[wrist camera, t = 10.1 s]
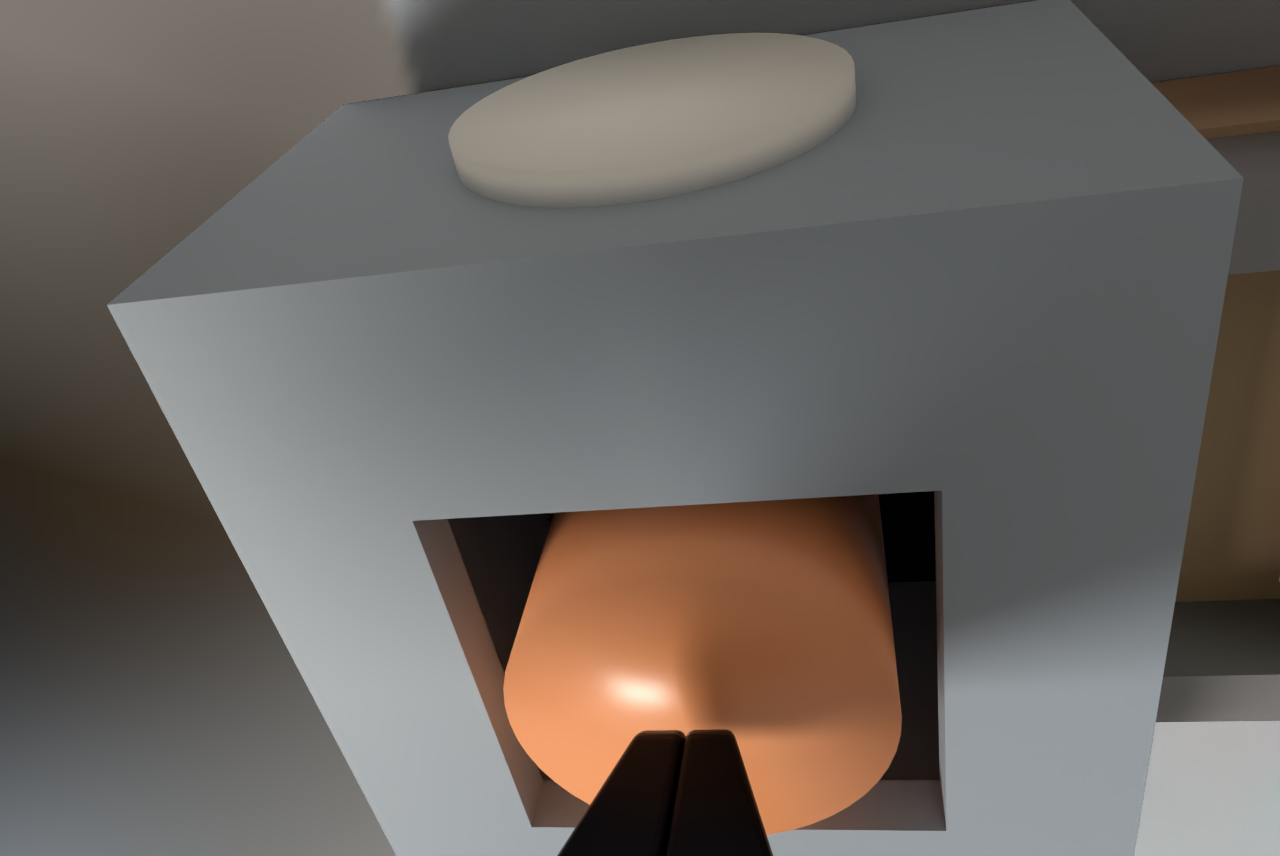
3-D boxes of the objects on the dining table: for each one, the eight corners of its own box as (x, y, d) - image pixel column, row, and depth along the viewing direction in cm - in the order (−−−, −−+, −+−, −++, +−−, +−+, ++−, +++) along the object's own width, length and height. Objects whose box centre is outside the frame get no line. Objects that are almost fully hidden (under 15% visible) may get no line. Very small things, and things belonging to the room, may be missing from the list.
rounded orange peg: (597, 625, 13) (551, 836, 10) (532, 391, 11) (456, 582, 9) (885, 616, 12) (907, 839, 10) (871, 363, 10) (894, 563, 8)
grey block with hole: (525, 641, 17) (438, 935, 13) (334, 78, 12) (88, 270, 8) (1031, 625, 15) (1117, 957, 11) (1068, -37, 10) (1251, 128, 6)
